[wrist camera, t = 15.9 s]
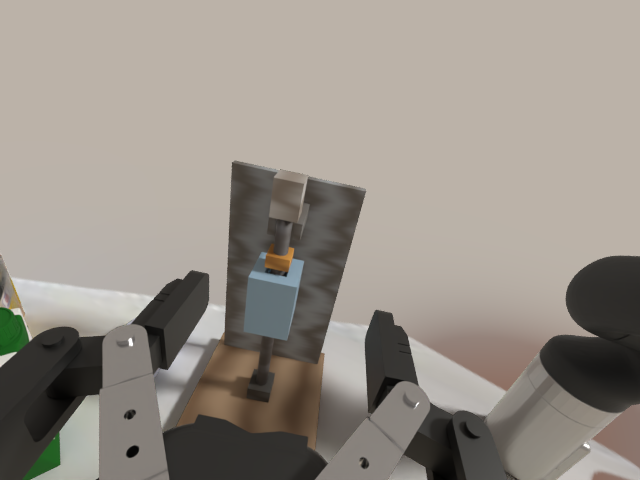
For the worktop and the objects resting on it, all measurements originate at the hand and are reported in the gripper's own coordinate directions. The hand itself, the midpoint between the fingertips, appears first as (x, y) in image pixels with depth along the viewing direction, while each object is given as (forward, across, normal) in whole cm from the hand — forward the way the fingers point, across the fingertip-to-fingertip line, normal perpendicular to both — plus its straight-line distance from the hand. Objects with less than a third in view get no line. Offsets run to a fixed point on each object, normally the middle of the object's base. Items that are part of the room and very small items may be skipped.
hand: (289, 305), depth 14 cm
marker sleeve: (+16, +3, +18) cm, 24 cm away
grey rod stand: (+16, +3, +34) cm, 38 cm away
